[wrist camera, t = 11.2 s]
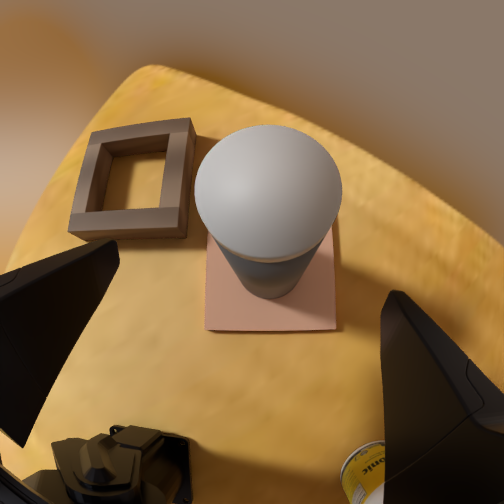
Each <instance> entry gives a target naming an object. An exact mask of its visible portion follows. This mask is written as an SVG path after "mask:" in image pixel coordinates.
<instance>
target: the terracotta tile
mask: <svg viewBox="0 0 504 504" xmlns="http://www.w3.org/2000/svg"><path fill="white" fill-rule="evenodd" d="M325 329H336V300H335V273H334V254H333V238H332V226H331V227H330V229H329V231H328V233H327V234H326V236H325V238H324V239H323V241H322V243H321V245H320V246H319V248H318V250H317V251H316V253H315V255H314V257H313V258H312V260H311V262H310V263H309V265H308V267H307V268H306V270H305V272H304V273H303V275H302V277H301V278H300V280H299V282H298V283H297V285H296V286H295V287H294V289H293V290H291V291H290V292H289V293H288V294H286V295H284V296H282V297H279V298H275V299H264V298H260V297H257V296H255V295H253V294H251V293H250V292H249V291H247V290H246V289H245V287H244V286H243V285H242V283H241V282H240V280H239V278H238V277H237V275H236V274H235V272H234V271H233V269H232V267H231V266H230V264H229V263H228V261H227V259H226V258H225V256H224V255H223V253H222V251H221V250H220V248H219V247H218V245H217V243H216V242H215V240H214V239H213V237H212V235H211V234H210V232H209V230H208V238H207V260H206V287H205V328H204V330H239V331H287V330H325Z"/></svg>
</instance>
